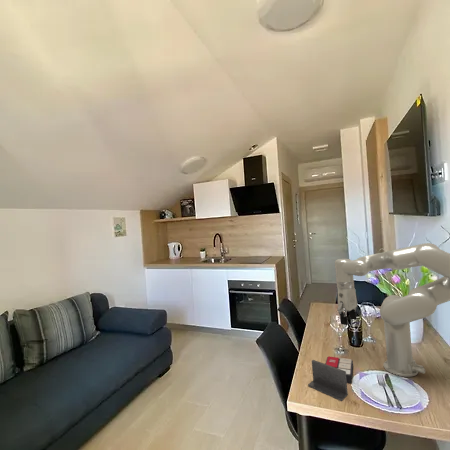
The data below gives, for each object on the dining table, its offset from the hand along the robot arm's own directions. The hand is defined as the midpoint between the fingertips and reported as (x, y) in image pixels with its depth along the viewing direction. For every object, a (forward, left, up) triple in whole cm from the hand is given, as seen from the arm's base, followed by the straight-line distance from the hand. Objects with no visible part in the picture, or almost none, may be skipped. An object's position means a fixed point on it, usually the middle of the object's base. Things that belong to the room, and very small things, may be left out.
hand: (348, 321), depth 130 cm
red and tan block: (-1, +14, -19) cm, 24 cm away
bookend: (-4, +30, -18) cm, 35 cm away
